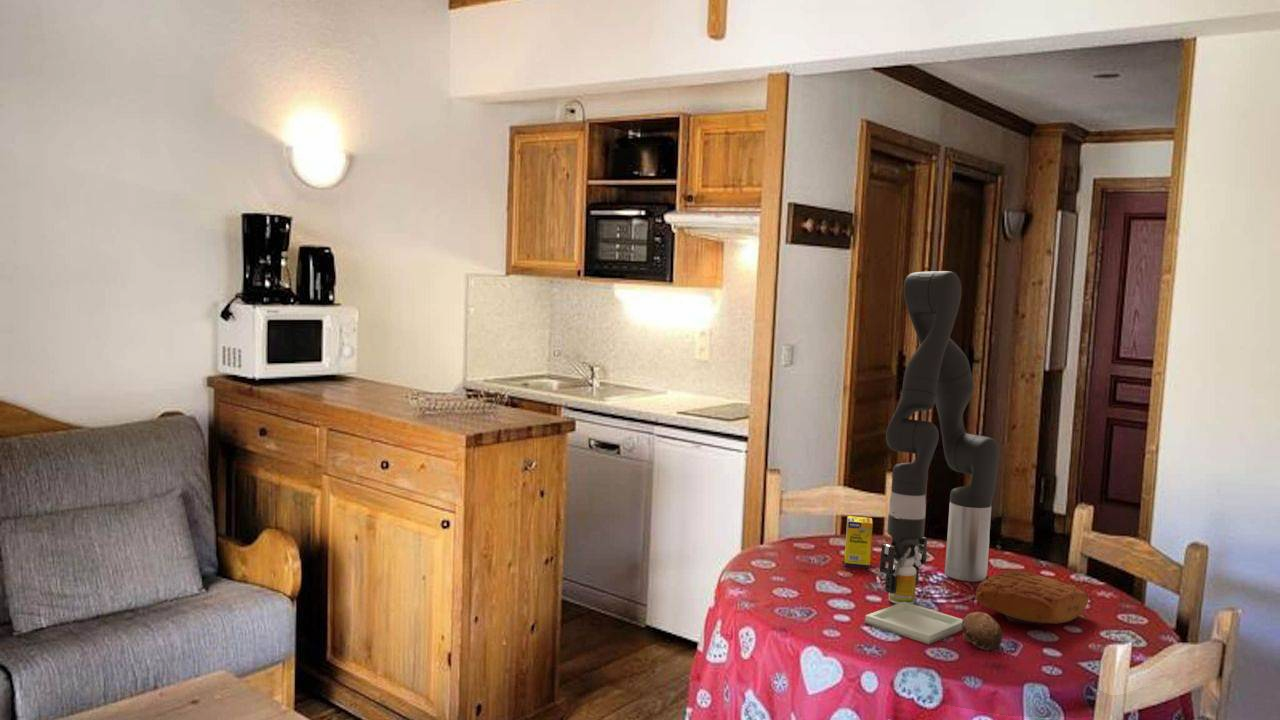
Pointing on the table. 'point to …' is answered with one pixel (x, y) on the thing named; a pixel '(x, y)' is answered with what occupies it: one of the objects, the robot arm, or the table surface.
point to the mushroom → (982, 630)
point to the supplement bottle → (905, 583)
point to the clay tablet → (1031, 597)
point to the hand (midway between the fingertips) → (901, 588)
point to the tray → (915, 622)
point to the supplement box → (858, 542)
